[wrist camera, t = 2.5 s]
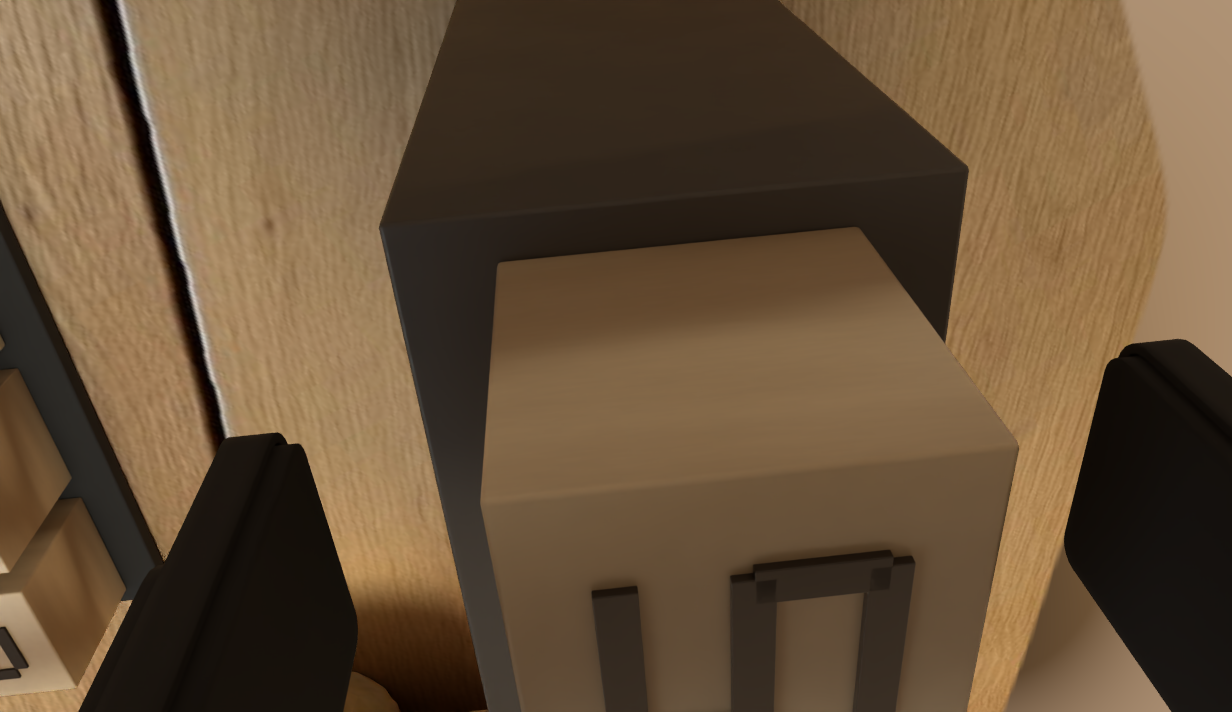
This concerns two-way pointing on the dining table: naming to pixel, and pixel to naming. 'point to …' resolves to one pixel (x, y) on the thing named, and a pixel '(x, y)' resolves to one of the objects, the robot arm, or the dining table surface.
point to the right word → (629, 190)
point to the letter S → (736, 482)
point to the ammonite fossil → (370, 696)
